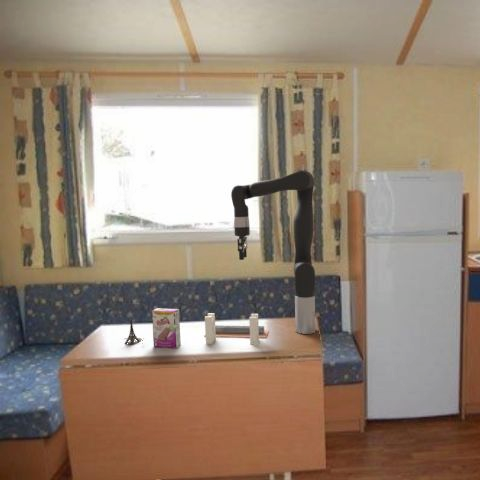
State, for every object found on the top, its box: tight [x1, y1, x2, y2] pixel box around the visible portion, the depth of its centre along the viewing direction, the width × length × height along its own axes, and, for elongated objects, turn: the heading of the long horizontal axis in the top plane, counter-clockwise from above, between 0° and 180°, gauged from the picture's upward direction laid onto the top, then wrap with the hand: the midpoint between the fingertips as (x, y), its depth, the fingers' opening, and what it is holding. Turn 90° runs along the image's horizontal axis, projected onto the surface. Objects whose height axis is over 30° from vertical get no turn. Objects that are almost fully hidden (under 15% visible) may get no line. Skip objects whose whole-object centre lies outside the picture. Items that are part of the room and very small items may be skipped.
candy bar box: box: [151, 307, 182, 349], centre depth 180 cm, size 11×5×16 cm, turn 74°
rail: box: [215, 324, 265, 335], centre depth 193 cm, size 26×3×3 cm, turn 80°
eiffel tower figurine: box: [124, 317, 143, 346], centre depth 186 cm, size 15×10×13 cm
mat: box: [203, 329, 269, 339], centre depth 193 cm, size 29×10×1 cm, turn 80°
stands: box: [204, 312, 260, 346], centre depth 182 cm, size 23×6×12 cm, turn 80°
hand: (243, 258), depth 203 cm, fingers open, 8 cm apart
